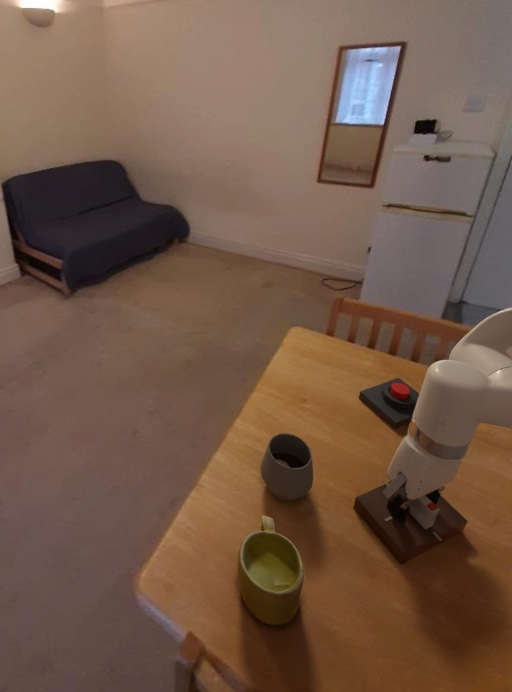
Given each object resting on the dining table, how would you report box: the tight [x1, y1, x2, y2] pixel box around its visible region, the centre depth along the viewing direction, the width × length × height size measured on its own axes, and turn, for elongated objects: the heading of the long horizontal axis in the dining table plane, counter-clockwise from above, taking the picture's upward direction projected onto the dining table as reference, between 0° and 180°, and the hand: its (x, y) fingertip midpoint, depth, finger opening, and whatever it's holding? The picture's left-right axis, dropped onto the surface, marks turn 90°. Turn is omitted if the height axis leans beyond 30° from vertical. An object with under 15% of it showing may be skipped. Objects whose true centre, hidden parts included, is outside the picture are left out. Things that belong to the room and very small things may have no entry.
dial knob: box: [398, 490, 439, 530], centre depth 69 cm, size 7×2×5 cm, turn 20°
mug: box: [237, 515, 305, 626], centre depth 62 cm, size 12×10×10 cm
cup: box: [260, 432, 314, 502], centre depth 75 cm, size 10×9×10 cm
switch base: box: [353, 479, 468, 566], centre depth 70 cm, size 14×11×3 cm
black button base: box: [358, 377, 420, 431], centre depth 93 cm, size 12×10×4 cm
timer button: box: [390, 383, 410, 400], centre depth 92 cm, size 4×4×2 cm
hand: (410, 507), depth 70 cm, fingers open, 6 cm apart
